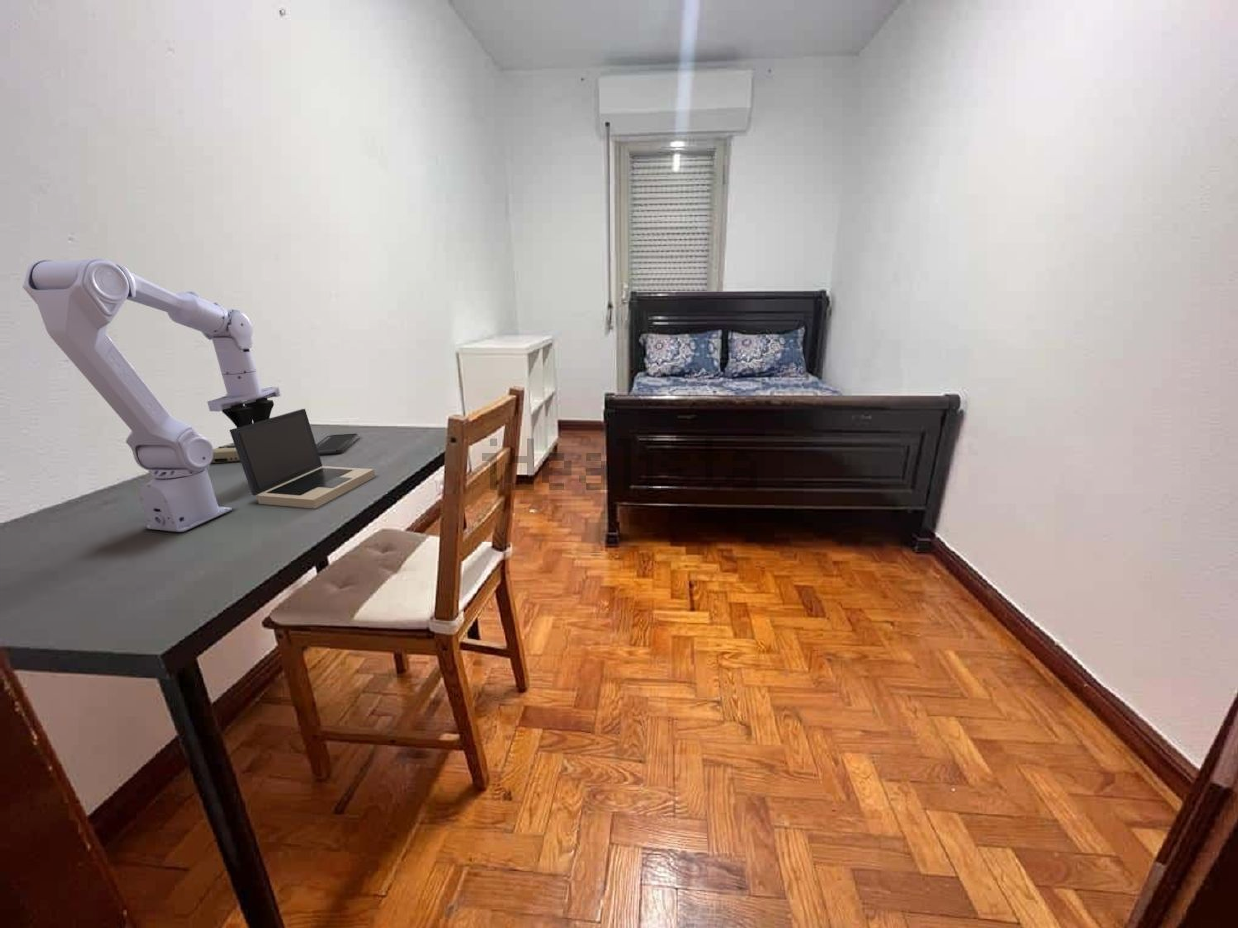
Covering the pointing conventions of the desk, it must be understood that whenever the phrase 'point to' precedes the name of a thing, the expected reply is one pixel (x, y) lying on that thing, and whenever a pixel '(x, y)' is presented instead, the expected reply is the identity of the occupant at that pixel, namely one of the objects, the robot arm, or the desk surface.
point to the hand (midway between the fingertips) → (256, 437)
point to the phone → (336, 443)
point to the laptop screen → (276, 450)
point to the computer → (225, 454)
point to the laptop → (316, 487)
